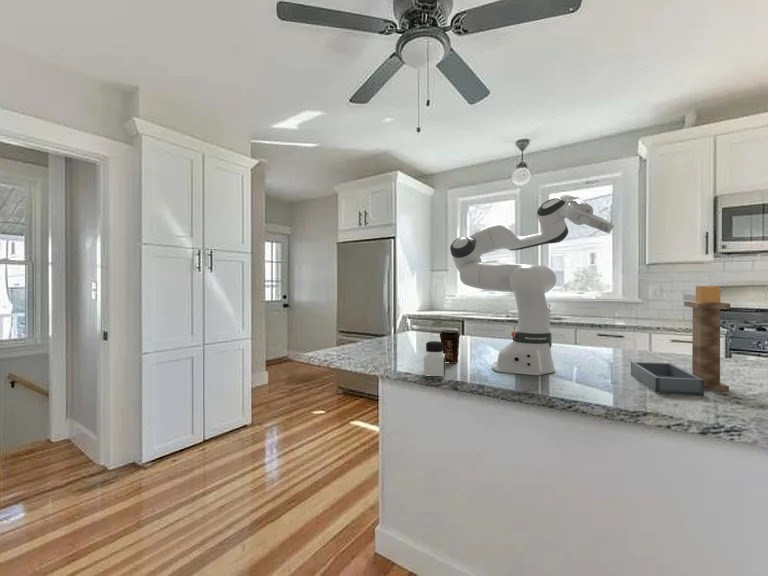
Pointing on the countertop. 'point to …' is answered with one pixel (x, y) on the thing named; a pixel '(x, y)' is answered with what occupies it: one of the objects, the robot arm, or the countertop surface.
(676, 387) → the tray
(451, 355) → the coffee cup
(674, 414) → the countertop surface
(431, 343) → the medicine bottle
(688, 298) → the lock pin
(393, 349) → the countertop surface
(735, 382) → the countertop surface
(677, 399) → the countertop surface
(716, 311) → the pedestal
